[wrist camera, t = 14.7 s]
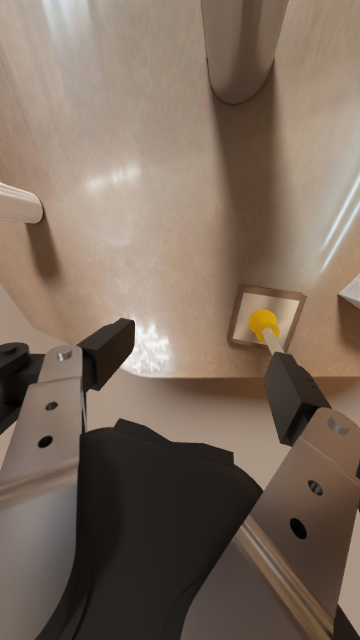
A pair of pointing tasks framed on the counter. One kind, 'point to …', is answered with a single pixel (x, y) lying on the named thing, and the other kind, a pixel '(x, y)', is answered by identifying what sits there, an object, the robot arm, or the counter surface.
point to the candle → (266, 329)
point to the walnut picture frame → (261, 298)
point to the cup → (19, 205)
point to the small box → (352, 292)
